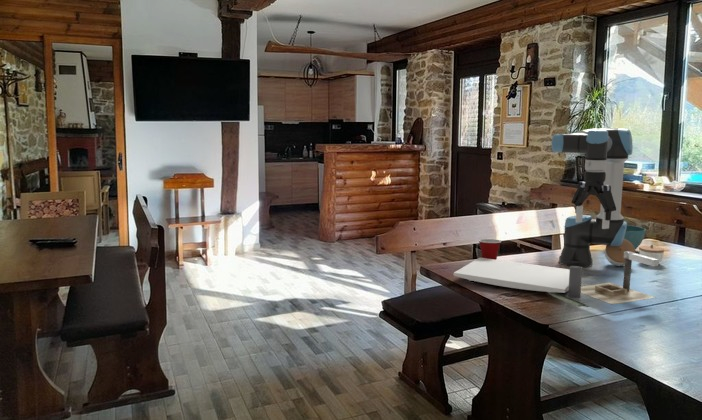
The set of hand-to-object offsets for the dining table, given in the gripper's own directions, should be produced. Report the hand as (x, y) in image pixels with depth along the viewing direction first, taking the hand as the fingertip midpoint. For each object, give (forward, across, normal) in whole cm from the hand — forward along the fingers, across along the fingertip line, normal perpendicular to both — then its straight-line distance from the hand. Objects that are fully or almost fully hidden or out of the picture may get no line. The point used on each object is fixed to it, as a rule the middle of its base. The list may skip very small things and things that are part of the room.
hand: (591, 225), depth 217 cm
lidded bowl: (+26, -32, +49) cm, 64 cm away
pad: (+28, +4, -11) cm, 30 cm away
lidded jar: (+30, -26, +64) cm, 76 cm away
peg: (+27, +4, -11) cm, 29 cm away
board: (+28, -24, -15) cm, 40 cm away
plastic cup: (+29, -54, -9) cm, 62 cm away
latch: (+13, +11, +14) cm, 22 cm away
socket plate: (+28, +6, +6) cm, 29 cm away
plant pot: (+30, -53, +76) cm, 97 cm away
